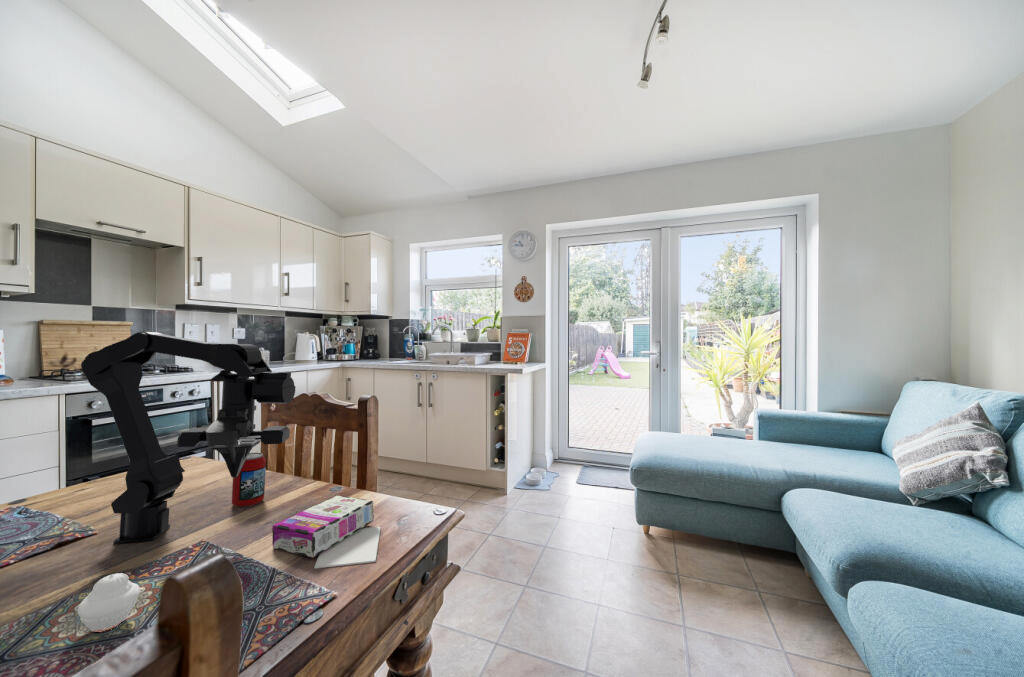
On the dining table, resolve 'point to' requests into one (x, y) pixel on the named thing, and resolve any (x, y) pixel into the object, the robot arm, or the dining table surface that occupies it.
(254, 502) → the beverage can
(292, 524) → the candy bar box
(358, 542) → the mat
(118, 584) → the white lumpy blob
